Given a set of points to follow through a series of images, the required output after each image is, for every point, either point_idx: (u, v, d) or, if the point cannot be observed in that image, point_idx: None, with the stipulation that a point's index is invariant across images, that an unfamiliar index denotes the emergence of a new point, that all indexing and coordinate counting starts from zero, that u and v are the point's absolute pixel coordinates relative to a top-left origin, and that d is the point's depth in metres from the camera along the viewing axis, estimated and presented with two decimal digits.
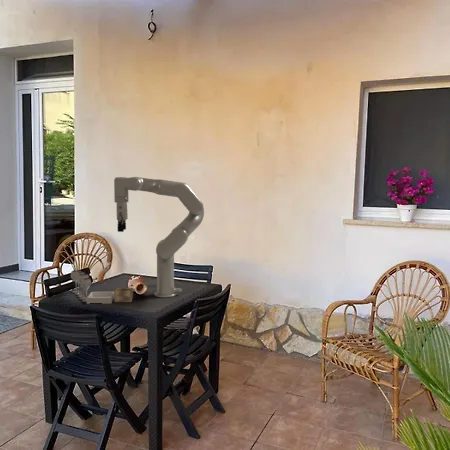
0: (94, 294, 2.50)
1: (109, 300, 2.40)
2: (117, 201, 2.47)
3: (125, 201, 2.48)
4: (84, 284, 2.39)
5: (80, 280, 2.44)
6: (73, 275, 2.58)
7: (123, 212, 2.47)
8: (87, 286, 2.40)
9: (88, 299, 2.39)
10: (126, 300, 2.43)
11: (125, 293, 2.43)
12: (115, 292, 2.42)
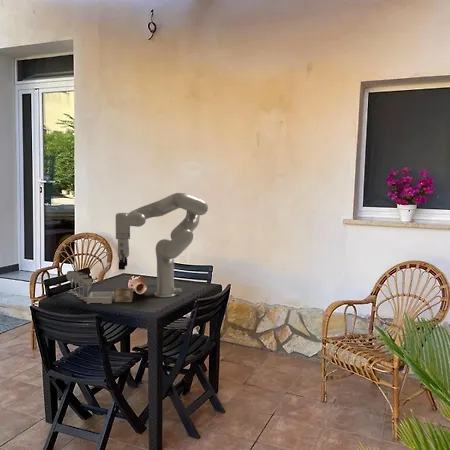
0: (94, 294, 2.50)
1: (109, 300, 2.40)
2: (118, 238, 2.40)
3: (127, 238, 2.41)
4: (86, 284, 2.40)
5: (80, 280, 2.44)
6: (69, 276, 2.57)
7: (124, 249, 2.39)
8: (89, 286, 2.41)
9: (88, 299, 2.39)
10: (126, 300, 2.43)
11: (125, 293, 2.43)
12: (115, 292, 2.42)
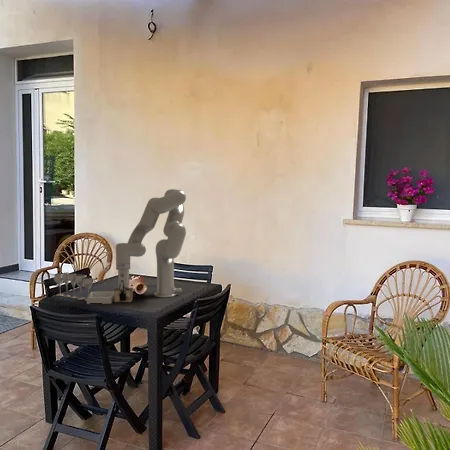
0: (94, 294, 2.50)
1: (109, 300, 2.40)
2: (119, 268, 2.41)
3: (127, 268, 2.42)
4: (88, 283, 2.41)
5: (79, 280, 2.44)
6: (59, 278, 2.52)
7: (125, 280, 2.41)
8: (90, 285, 2.43)
9: (88, 299, 2.39)
10: (126, 300, 2.43)
11: None
12: (115, 292, 2.42)
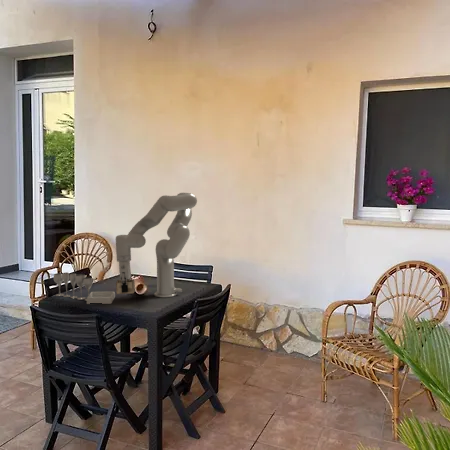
0: (94, 294, 2.50)
1: (109, 300, 2.40)
2: (119, 260, 2.41)
3: (128, 260, 2.42)
4: (88, 283, 2.42)
5: (79, 280, 2.44)
6: (58, 278, 2.52)
7: (126, 272, 2.40)
8: (91, 285, 2.43)
9: (88, 299, 2.39)
10: (128, 291, 2.44)
11: (127, 284, 2.43)
12: (117, 284, 2.42)
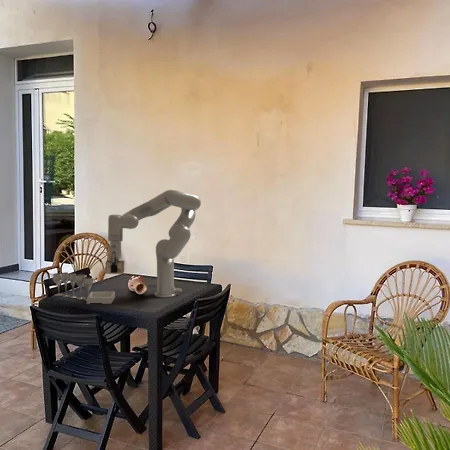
0: (94, 294, 2.50)
1: (109, 300, 2.40)
2: (111, 240, 2.39)
3: (119, 240, 2.40)
4: (88, 283, 2.42)
5: (79, 280, 2.44)
6: (58, 278, 2.52)
7: (117, 251, 2.38)
8: (91, 285, 2.43)
9: (88, 299, 2.39)
10: (117, 272, 2.41)
11: None
12: (106, 263, 2.40)
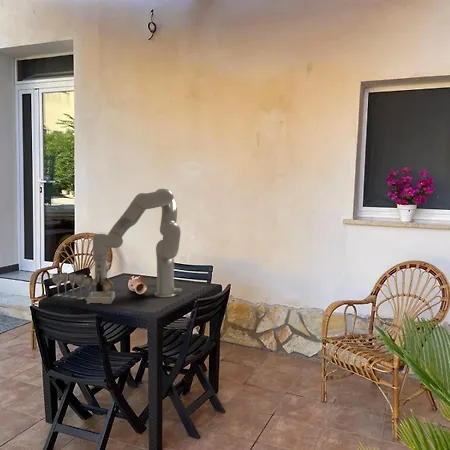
0: (94, 294, 2.50)
1: (109, 300, 2.40)
2: (95, 259, 2.40)
3: (104, 259, 2.41)
4: (89, 283, 2.42)
5: (79, 280, 2.44)
6: (57, 278, 2.52)
7: (102, 271, 2.39)
8: (91, 284, 2.44)
9: (88, 299, 2.39)
10: None
11: (105, 285, 2.41)
12: None
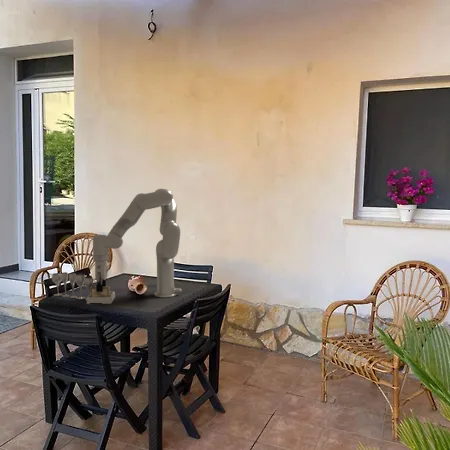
0: None
1: (109, 300, 2.40)
2: (96, 260, 2.40)
3: (104, 260, 2.41)
4: (89, 283, 2.43)
5: (79, 280, 2.45)
6: (57, 278, 2.52)
7: (102, 272, 2.39)
8: (91, 284, 2.44)
9: (88, 299, 2.39)
10: None
11: (102, 291, 2.42)
12: (92, 290, 2.41)
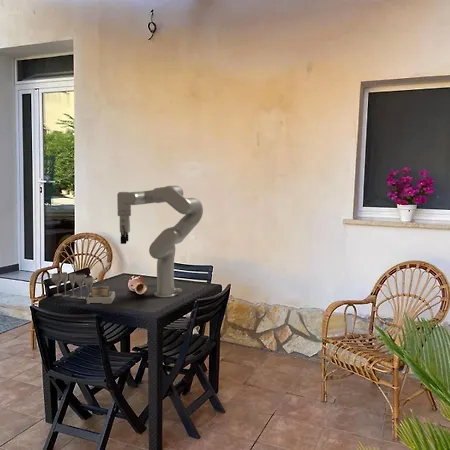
0: None
1: (109, 300, 2.40)
2: (120, 215, 2.60)
3: (128, 215, 2.61)
4: (89, 282, 2.43)
5: (80, 280, 2.45)
6: (57, 278, 2.52)
7: (126, 225, 2.59)
8: (91, 284, 2.45)
9: (88, 299, 2.39)
10: None
11: (102, 292, 2.41)
12: (92, 291, 2.40)
